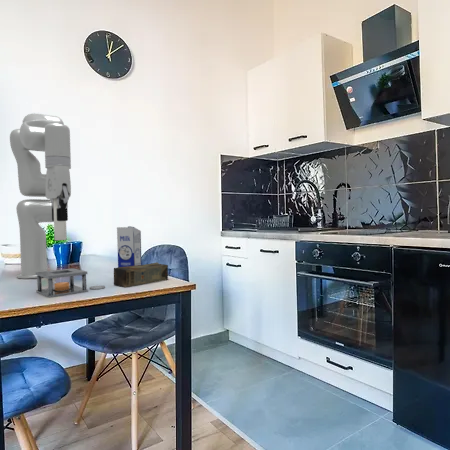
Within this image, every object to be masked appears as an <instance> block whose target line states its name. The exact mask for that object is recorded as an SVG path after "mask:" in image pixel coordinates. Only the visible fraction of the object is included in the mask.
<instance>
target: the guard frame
mask: <svg viewBox="0 0 450 450" xmlns="http://www.w3.org/2000/svg"><path fill="white" fill-rule="evenodd" d="M36 275H37V278H36V281H37V282H36V283H37V287H36V288H37V290H36V289H35V291H36V293H37V294H39V295H42V296H45V297H47V298H54V297H61V296H66V295H73V294H81V293H86V292H89V290H88V288H87V275H88V271H87V270H82V269H77V268H73V267H71V268H64V269H56V270H55V269H54V270H53V269H52V270H47V271H44V272H36ZM76 276H81V277H82V278H81V284H82V287H81V286H78V285H75V280H74V279H75V277H76ZM67 277H69V289H68V290H63V291H55V288H54V282H53V279H59V278H67ZM42 278H44V279H47V284H48V285H47V286H48V288H43V287H42Z"/></svg>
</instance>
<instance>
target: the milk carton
mask: <svg viewBox="0 0 450 450" xmlns="http://www.w3.org/2000/svg"><path fill="white" fill-rule="evenodd" d="M141 234H142V231H141V230H140V229H138V228H136V227H135V226H130V225H129V226H123V227H120V226H118V227H116V235H117V236H116V239H117V242H116V243H117V244H116V245H117V246H116V247H117V268H118V267H126V266H135V265H143V262H142V235H141Z"/></svg>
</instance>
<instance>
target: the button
mask: <svg viewBox="0 0 450 450" xmlns="http://www.w3.org/2000/svg"><path fill="white" fill-rule="evenodd" d="M69 286H70V281H60V282H56V283H53V288H55V291H54V292H63V291H69V290H68V289H69Z"/></svg>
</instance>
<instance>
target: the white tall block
mask: <svg viewBox="0 0 450 450" xmlns="http://www.w3.org/2000/svg"><path fill="white" fill-rule="evenodd" d="M59 198H63V196H59ZM60 202H61V200H60ZM53 206H54V222H53V234H54V236H53V237H54V241H67V239H68V238H67V237H68V236H67V235H68V234H67V221H57V208H58V205H57V198H54V199H53Z"/></svg>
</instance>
